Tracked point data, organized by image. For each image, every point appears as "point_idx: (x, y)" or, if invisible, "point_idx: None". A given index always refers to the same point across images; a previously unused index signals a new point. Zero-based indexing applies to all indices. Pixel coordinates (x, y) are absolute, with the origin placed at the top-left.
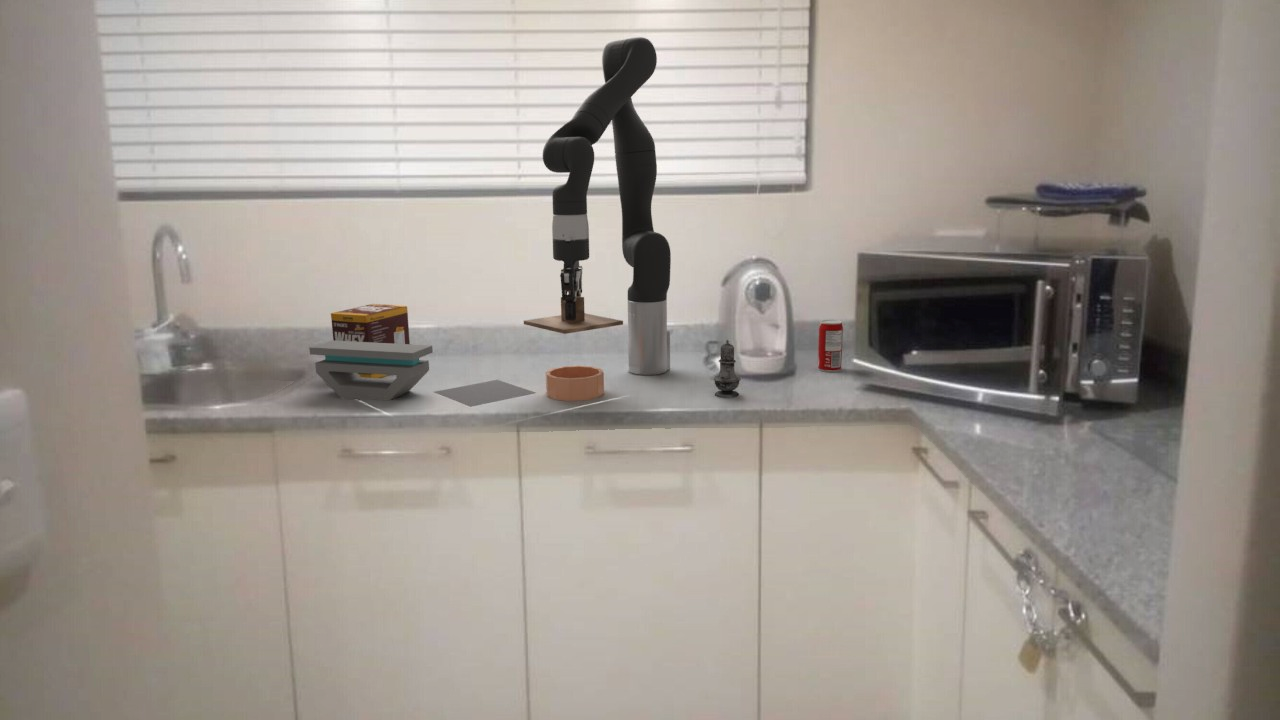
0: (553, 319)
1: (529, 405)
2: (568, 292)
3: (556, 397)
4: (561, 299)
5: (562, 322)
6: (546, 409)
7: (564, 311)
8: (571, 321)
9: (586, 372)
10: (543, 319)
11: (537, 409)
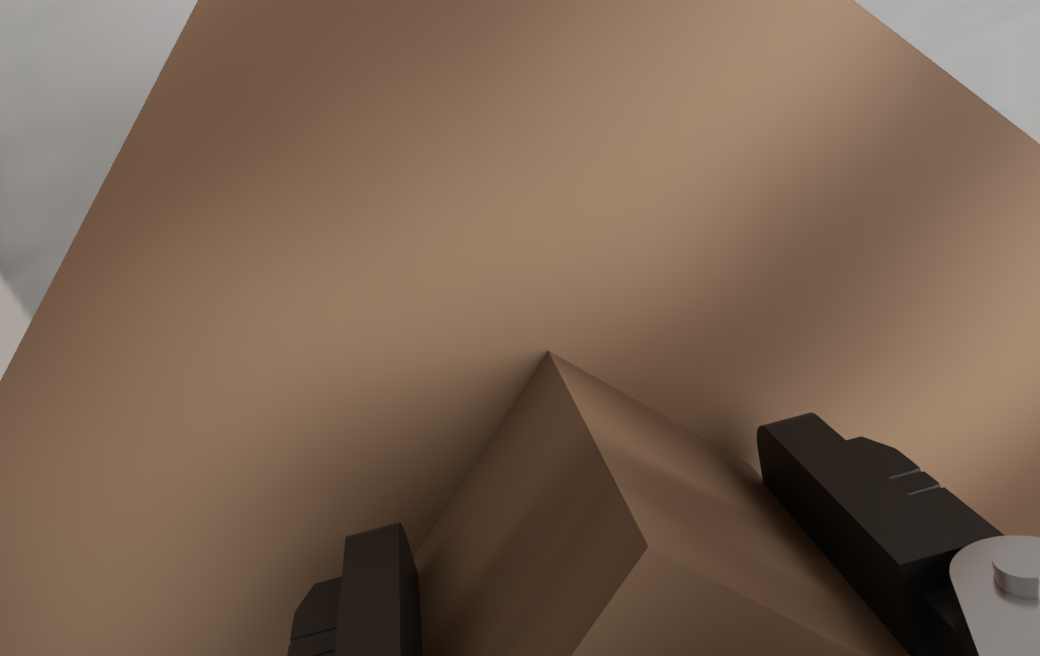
0: (620, 182)
1: (104, 54)
2: (974, 651)
3: None
4: (615, 543)
5: (403, 429)
6: (57, 221)
7: (524, 494)
8: (419, 568)
9: None
10: (589, 5)
11: (30, 159)
